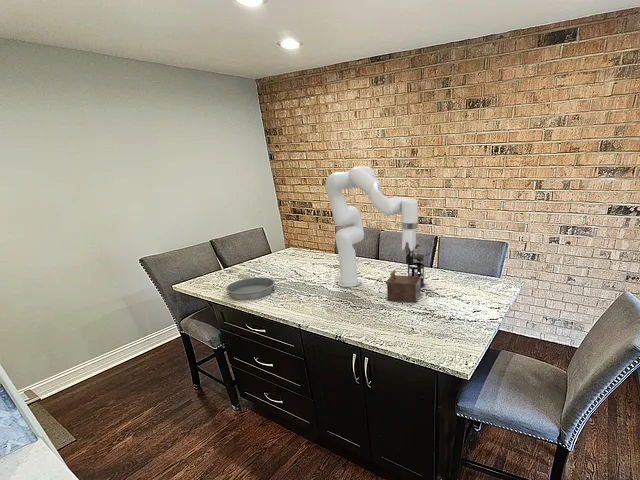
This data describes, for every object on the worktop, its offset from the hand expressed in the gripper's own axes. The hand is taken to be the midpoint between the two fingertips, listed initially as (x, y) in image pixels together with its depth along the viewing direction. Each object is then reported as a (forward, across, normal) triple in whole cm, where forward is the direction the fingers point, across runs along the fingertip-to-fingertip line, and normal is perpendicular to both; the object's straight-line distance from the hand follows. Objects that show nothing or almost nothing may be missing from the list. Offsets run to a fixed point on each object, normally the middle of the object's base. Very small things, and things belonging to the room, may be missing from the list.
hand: (409, 263), depth 166 cm
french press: (+18, -19, -1) cm, 26 cm away
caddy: (+18, 0, -3) cm, 19 cm away
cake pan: (+19, +12, -85) cm, 88 cm away
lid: (+9, 0, -3) cm, 10 cm away
